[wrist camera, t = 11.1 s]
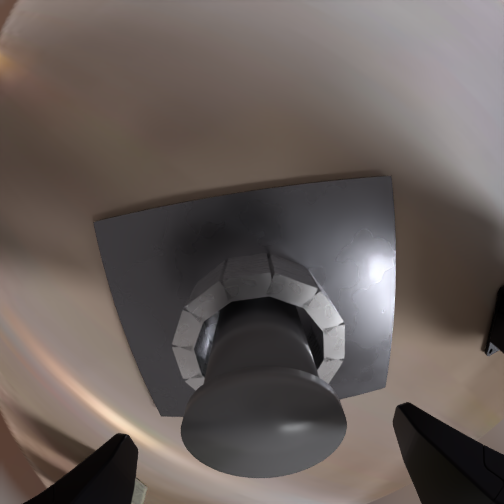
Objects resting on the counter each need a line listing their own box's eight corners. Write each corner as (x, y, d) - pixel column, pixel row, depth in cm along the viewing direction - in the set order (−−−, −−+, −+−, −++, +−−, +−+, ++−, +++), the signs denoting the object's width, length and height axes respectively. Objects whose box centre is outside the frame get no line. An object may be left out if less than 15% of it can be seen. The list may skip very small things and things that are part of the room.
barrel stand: (386, 175, 14) (422, 177, 10) (382, 382, 17) (400, 415, 14) (98, 220, 14) (62, 232, 11) (163, 410, 18) (151, 446, 14)
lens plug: (302, 271, 14) (351, 368, 7) (308, 354, 16) (341, 465, 8) (201, 286, 14) (157, 390, 7) (220, 366, 16) (205, 480, 8)
